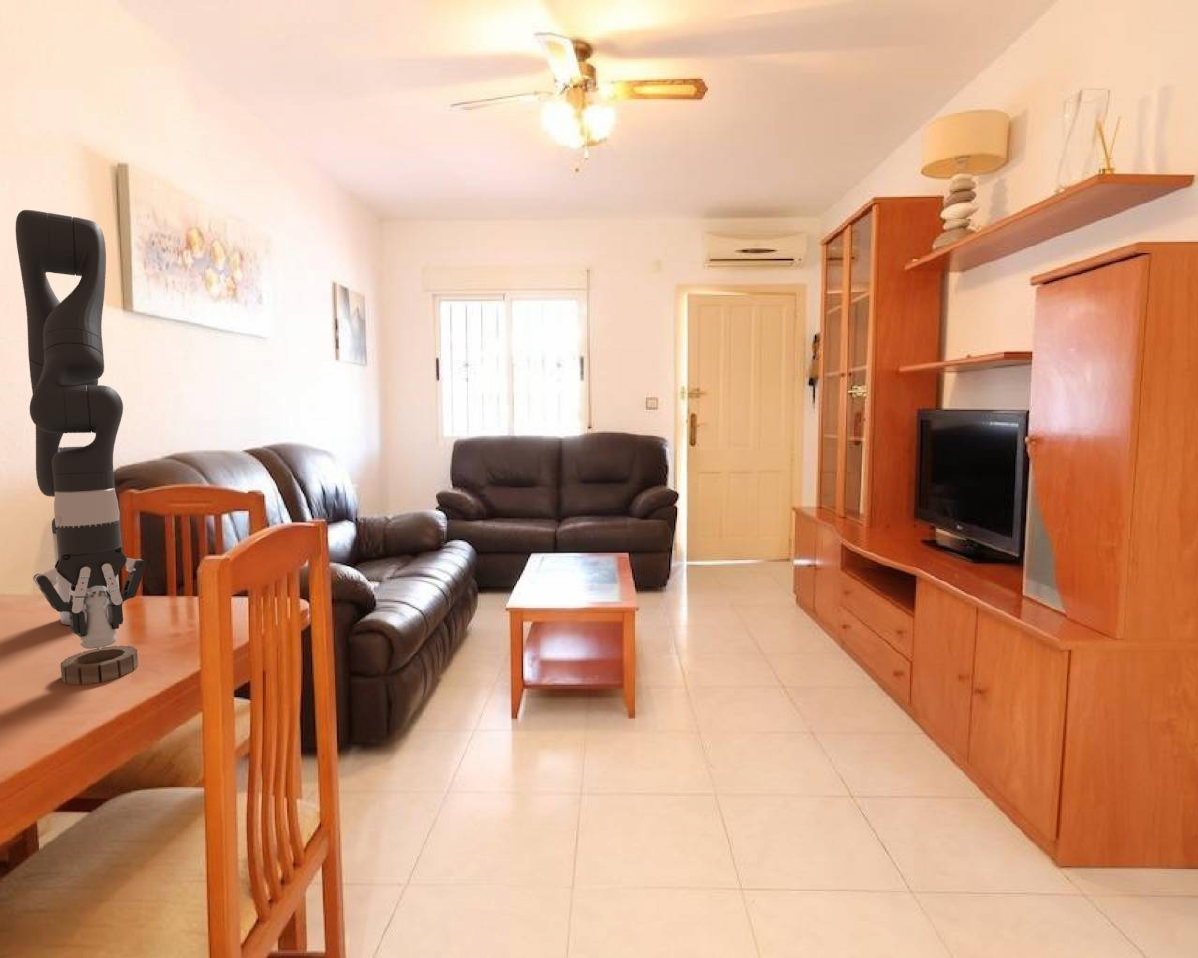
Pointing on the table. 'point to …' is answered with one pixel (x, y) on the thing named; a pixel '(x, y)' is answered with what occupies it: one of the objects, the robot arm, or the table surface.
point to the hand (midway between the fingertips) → (97, 631)
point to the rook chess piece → (97, 622)
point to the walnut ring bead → (99, 665)
